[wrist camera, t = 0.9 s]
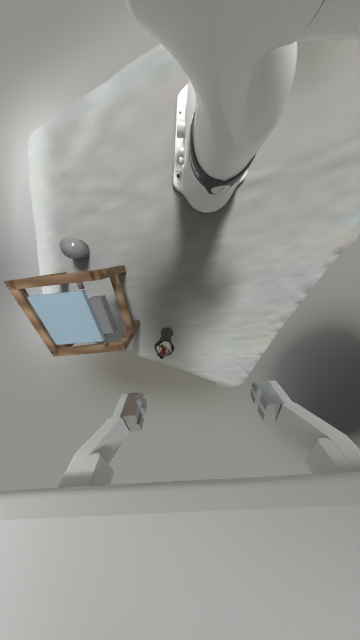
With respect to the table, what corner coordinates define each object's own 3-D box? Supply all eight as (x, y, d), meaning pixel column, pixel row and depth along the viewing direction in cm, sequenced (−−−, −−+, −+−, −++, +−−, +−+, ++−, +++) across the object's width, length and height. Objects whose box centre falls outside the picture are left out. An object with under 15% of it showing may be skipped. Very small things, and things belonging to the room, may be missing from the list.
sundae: (169, 323, 53) (166, 346, 40) (177, 335, 56) (177, 361, 42) (155, 329, 55) (147, 354, 41) (164, 341, 57) (159, 368, 44)
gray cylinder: (69, 241, 41) (56, 239, 36) (85, 239, 41) (74, 237, 36) (77, 259, 43) (65, 259, 39) (92, 257, 43) (82, 257, 38)
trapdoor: (37, 294, 34) (26, 297, 32) (101, 287, 33) (95, 289, 31) (63, 339, 40) (56, 344, 38) (119, 335, 39) (115, 340, 37)
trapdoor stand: (60, 273, 45) (1, 281, 30) (124, 265, 44) (96, 270, 29) (86, 329, 54) (52, 357, 39) (140, 324, 53) (125, 351, 39)
